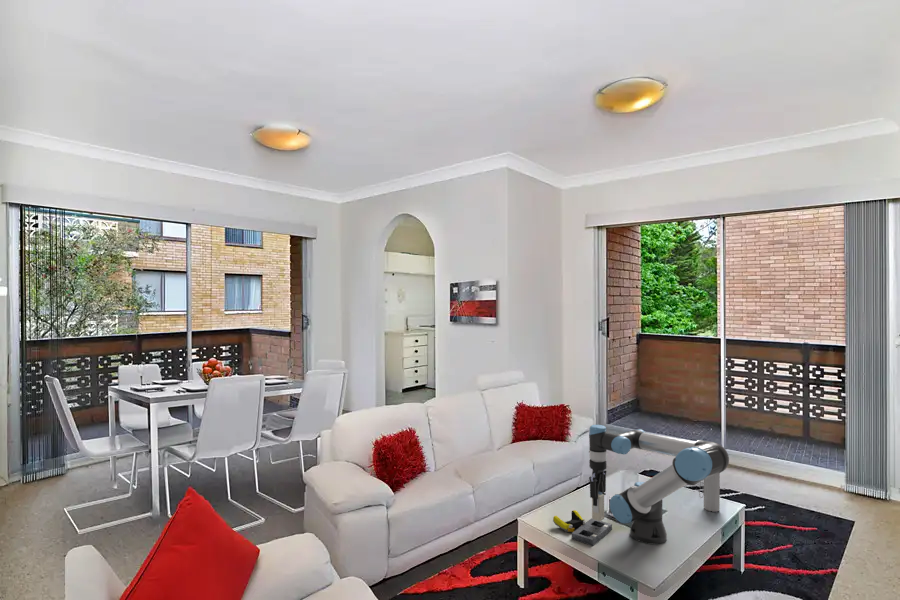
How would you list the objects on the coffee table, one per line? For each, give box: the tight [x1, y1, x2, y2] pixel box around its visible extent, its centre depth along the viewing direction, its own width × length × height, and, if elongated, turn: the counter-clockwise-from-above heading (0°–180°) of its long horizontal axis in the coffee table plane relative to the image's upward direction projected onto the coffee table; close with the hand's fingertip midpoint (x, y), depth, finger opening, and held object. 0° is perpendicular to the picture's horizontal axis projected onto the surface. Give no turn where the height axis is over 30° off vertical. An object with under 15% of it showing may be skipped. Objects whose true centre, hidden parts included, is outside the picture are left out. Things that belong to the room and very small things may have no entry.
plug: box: [591, 492, 605, 521], centre depth 239 cm, size 4×4×12 cm
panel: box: [571, 517, 613, 547], centre depth 235 cm, size 10×20×3 cm, turn 140°
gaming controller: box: [552, 509, 586, 533], centre depth 242 cm, size 15×6×10 cm
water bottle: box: [698, 473, 721, 513], centre depth 261 cm, size 9×8×25 cm
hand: (598, 510), depth 239 cm, fingers closed on plug, 4 cm apart
